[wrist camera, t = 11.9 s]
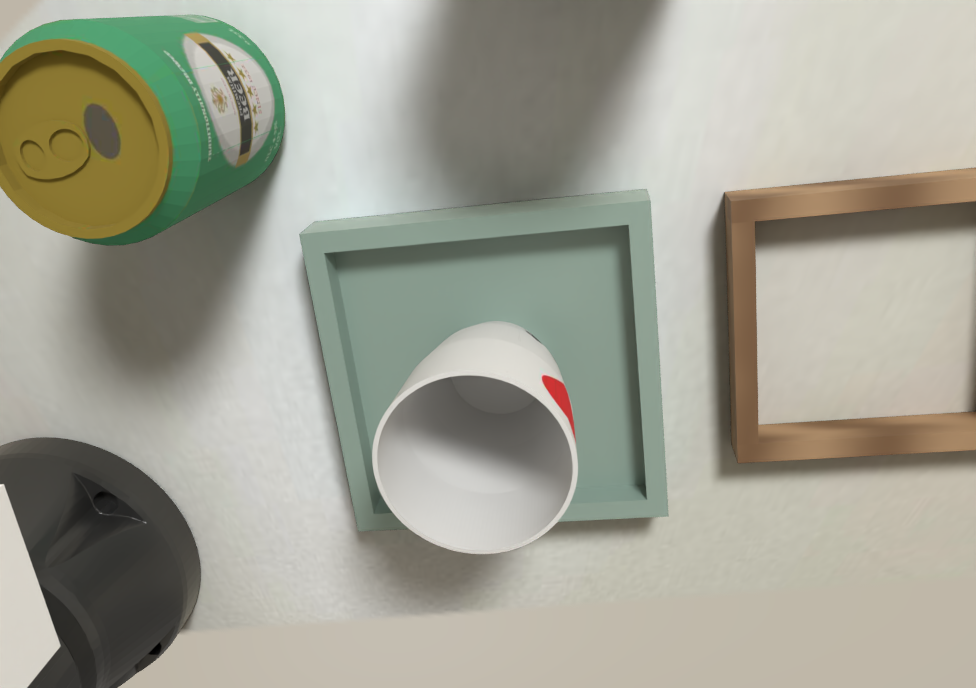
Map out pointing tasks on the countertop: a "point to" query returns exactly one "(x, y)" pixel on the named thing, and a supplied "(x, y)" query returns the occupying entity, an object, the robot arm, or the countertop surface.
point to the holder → (742, 325)
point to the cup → (479, 442)
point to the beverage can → (133, 122)
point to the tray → (510, 298)
